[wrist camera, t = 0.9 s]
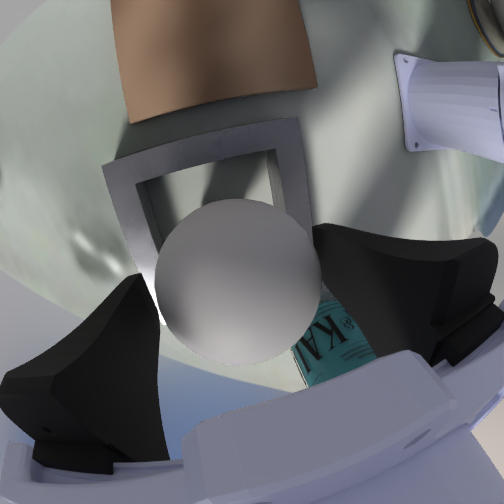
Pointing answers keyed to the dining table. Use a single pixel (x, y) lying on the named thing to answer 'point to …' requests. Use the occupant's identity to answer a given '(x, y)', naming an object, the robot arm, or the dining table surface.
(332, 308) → the beverage bottle
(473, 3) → the apothecary jar
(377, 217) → the dining table surface
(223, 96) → the walnut pad
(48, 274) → the dining table surface
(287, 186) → the holder frame
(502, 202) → the dining table surface
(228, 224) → the lightbulb
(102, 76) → the dining table surface
